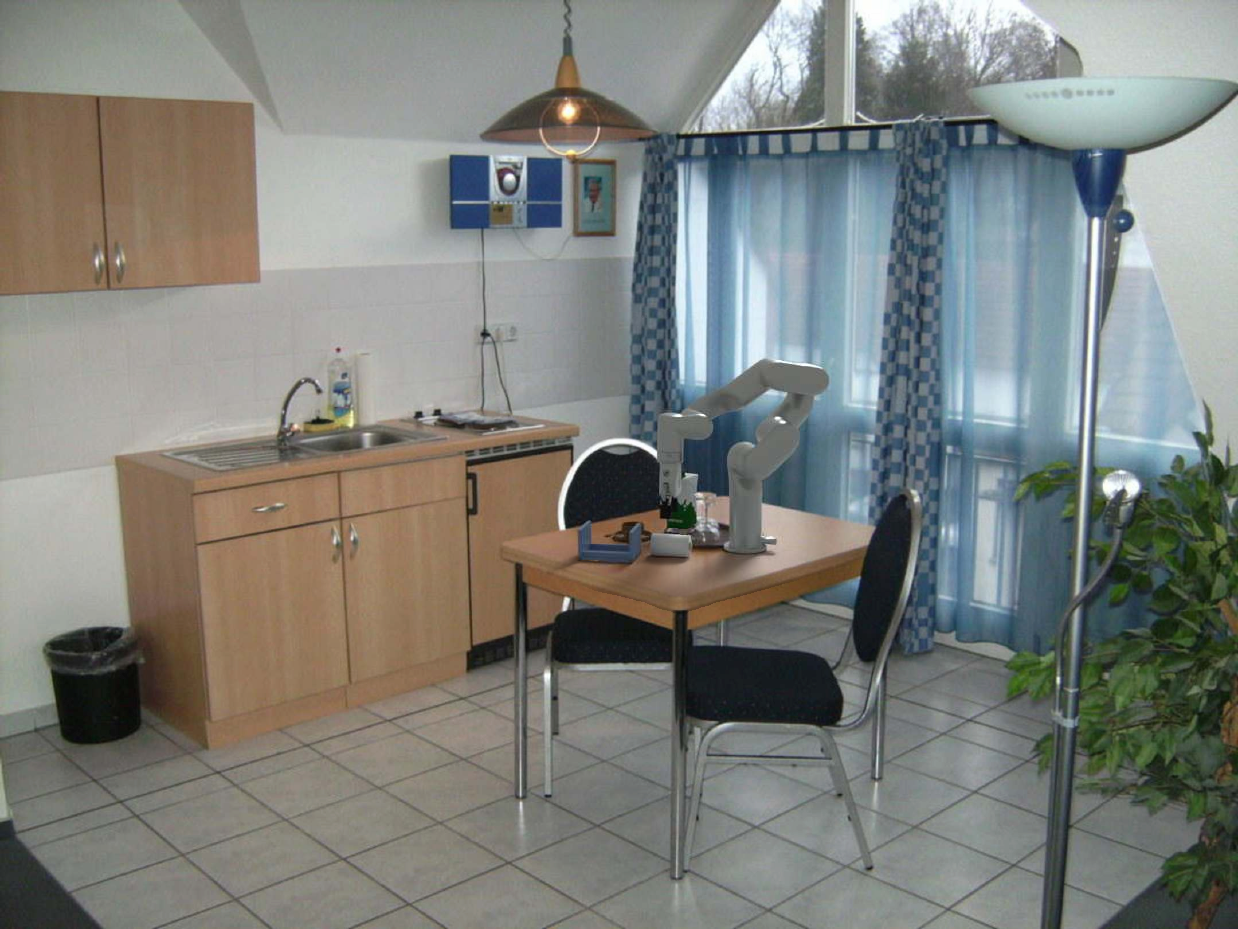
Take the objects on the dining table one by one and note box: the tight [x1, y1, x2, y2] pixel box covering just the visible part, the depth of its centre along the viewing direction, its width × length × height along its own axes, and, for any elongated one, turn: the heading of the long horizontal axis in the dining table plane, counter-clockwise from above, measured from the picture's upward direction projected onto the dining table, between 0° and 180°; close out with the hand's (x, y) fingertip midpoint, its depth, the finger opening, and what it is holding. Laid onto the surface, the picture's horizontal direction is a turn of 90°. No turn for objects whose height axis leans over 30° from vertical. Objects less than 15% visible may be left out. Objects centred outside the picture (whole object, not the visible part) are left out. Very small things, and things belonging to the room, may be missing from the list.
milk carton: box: [666, 468, 699, 530], centre depth 393 cm, size 9×9×20 cm
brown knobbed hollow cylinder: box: [604, 520, 653, 545], centre depth 384 cm, size 18×20×6 cm
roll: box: [649, 532, 693, 558], centre depth 366 cm, size 12×6×6 cm, turn 77°
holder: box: [577, 520, 642, 564], centre depth 366 cm, size 16×11×9 cm
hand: (668, 515), depth 365 cm, fingers open, 9 cm apart
